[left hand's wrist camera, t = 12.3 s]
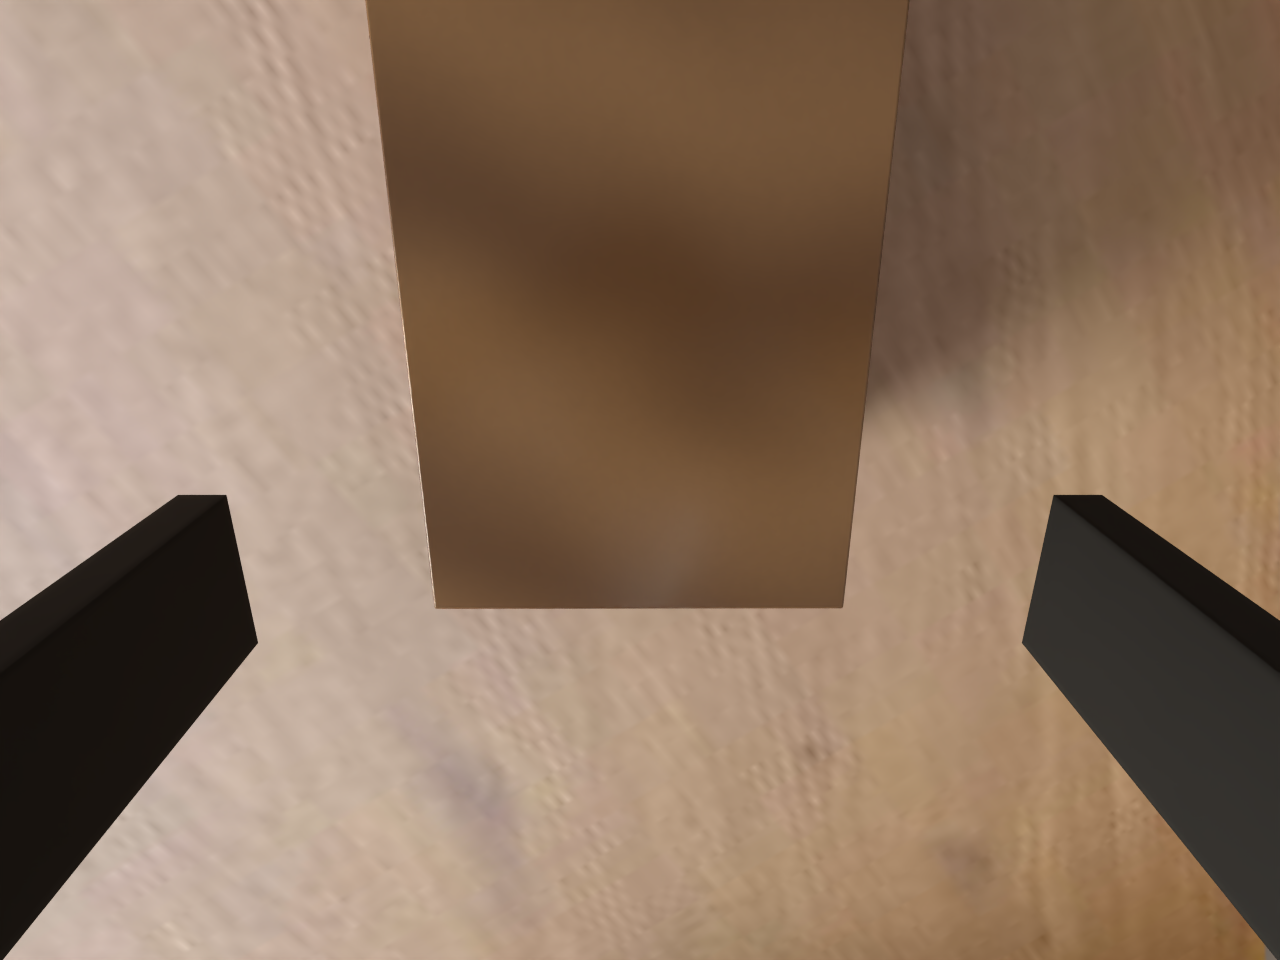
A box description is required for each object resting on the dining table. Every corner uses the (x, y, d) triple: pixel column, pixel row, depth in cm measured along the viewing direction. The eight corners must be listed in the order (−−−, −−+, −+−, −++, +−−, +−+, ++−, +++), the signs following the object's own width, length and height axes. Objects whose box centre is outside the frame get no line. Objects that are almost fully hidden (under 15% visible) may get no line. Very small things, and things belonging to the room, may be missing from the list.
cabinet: (466, -116, 23) (324, -349, 13) (809, -116, 23) (948, -350, 13) (505, 456, 30) (434, 609, 20) (772, 455, 30) (843, 609, 20)
